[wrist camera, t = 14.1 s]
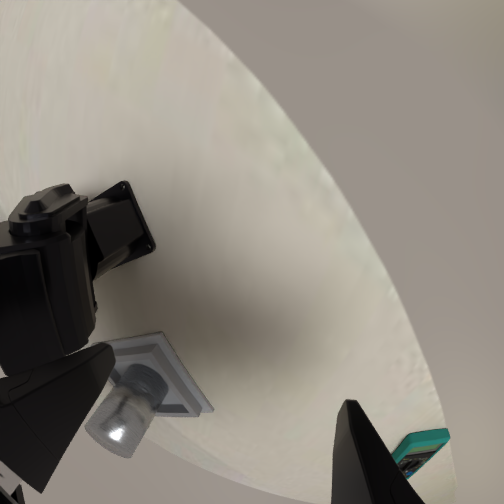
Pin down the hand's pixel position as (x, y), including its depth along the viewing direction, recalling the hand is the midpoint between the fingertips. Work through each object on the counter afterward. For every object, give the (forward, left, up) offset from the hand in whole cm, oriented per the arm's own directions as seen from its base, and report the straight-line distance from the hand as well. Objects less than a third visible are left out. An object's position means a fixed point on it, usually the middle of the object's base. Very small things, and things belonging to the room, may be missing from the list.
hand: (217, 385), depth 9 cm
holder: (+19, +10, -13) cm, 25 cm away
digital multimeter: (-10, +38, -14) cm, 42 cm away
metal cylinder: (+19, +10, -13) cm, 25 cm away
